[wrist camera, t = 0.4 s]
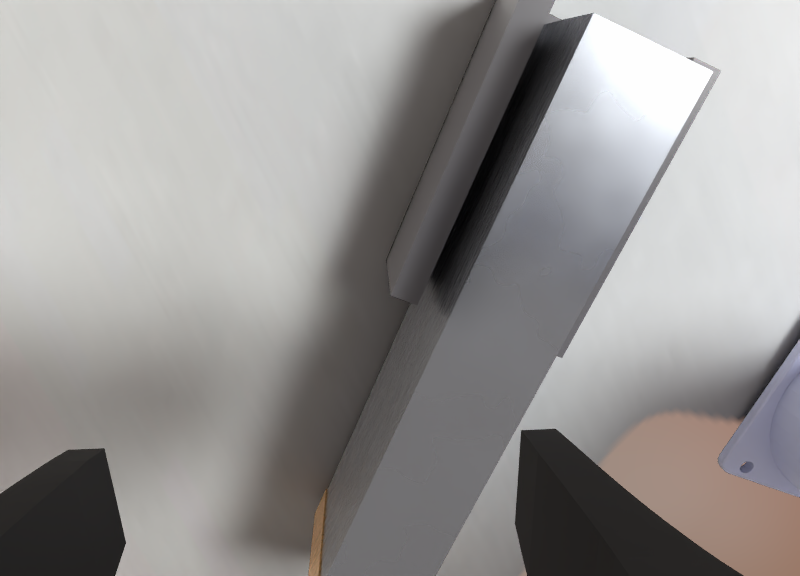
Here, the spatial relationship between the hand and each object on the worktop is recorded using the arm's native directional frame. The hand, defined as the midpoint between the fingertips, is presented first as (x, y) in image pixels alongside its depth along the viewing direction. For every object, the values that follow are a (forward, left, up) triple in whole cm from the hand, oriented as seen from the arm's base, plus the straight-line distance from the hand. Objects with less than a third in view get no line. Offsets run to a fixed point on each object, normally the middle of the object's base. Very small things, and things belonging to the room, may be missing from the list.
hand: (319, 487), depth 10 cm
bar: (-4, 0, -10) cm, 10 cm away
